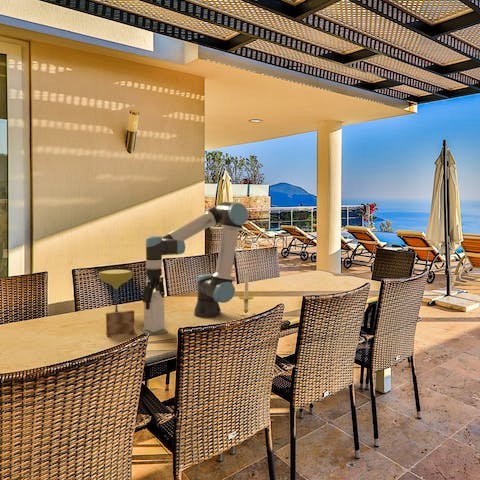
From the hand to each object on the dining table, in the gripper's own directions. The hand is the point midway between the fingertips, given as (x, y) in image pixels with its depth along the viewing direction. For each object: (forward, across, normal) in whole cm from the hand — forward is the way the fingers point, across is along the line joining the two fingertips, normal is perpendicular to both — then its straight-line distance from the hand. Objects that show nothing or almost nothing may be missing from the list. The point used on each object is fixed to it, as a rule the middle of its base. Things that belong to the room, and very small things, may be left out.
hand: (154, 312), depth 206 cm
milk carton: (+9, 0, 0) cm, 9 cm away
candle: (+10, -48, +31) cm, 58 cm away
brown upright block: (+9, +10, -12) cm, 19 cm away
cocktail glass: (+9, -16, -35) cm, 39 cm away
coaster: (+9, 0, 0) cm, 9 cm away
